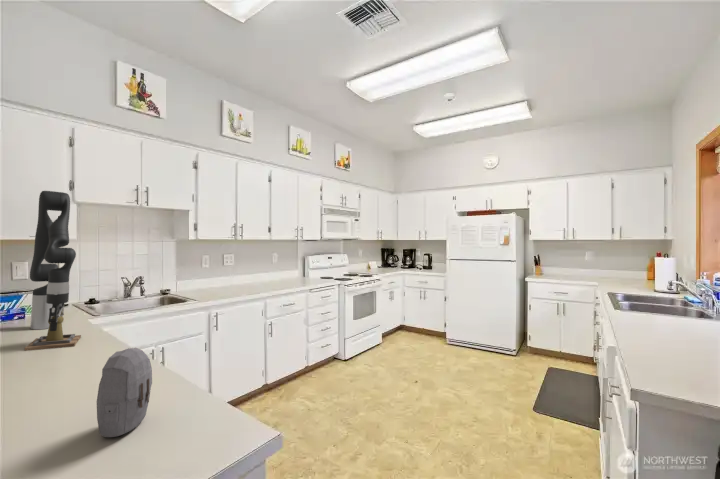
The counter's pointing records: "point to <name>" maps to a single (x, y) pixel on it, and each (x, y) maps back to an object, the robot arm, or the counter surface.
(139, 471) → the counter surface
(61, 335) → the cork
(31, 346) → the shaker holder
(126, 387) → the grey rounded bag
